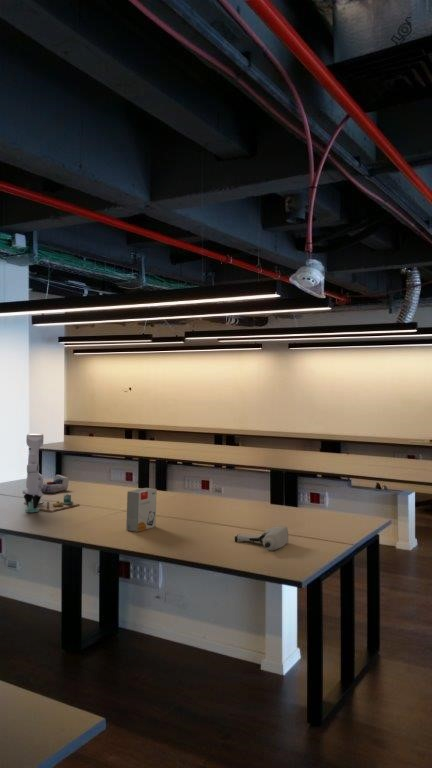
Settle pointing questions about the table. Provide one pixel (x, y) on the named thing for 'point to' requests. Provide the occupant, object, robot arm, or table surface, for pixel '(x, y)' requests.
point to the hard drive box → (141, 509)
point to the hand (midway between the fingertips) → (32, 507)
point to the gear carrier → (59, 505)
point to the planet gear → (31, 507)
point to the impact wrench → (268, 538)
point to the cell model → (56, 484)
